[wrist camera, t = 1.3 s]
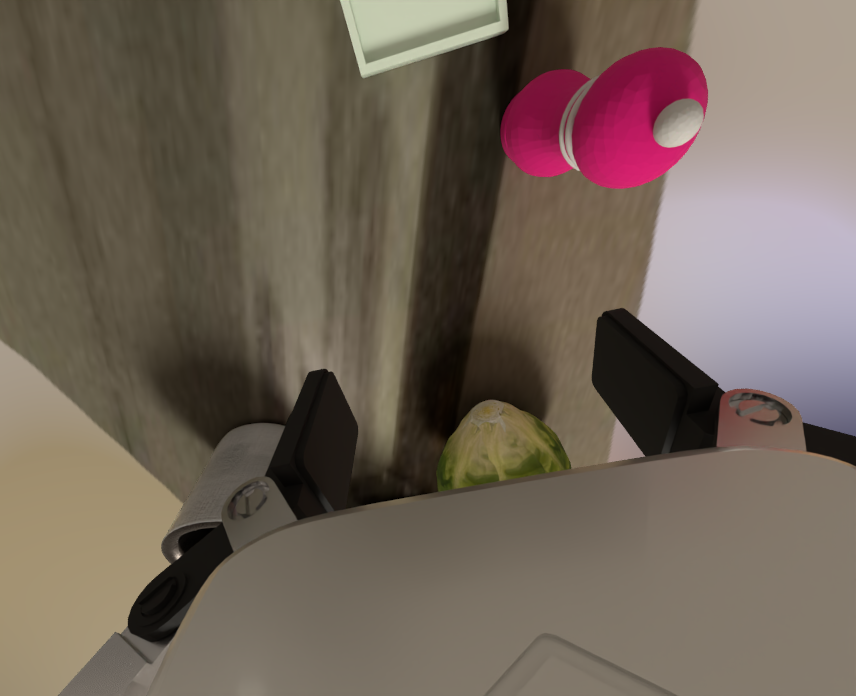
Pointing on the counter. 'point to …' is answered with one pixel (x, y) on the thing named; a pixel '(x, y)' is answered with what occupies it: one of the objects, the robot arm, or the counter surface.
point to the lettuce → (498, 448)
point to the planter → (221, 483)
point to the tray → (418, 29)
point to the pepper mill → (609, 119)
